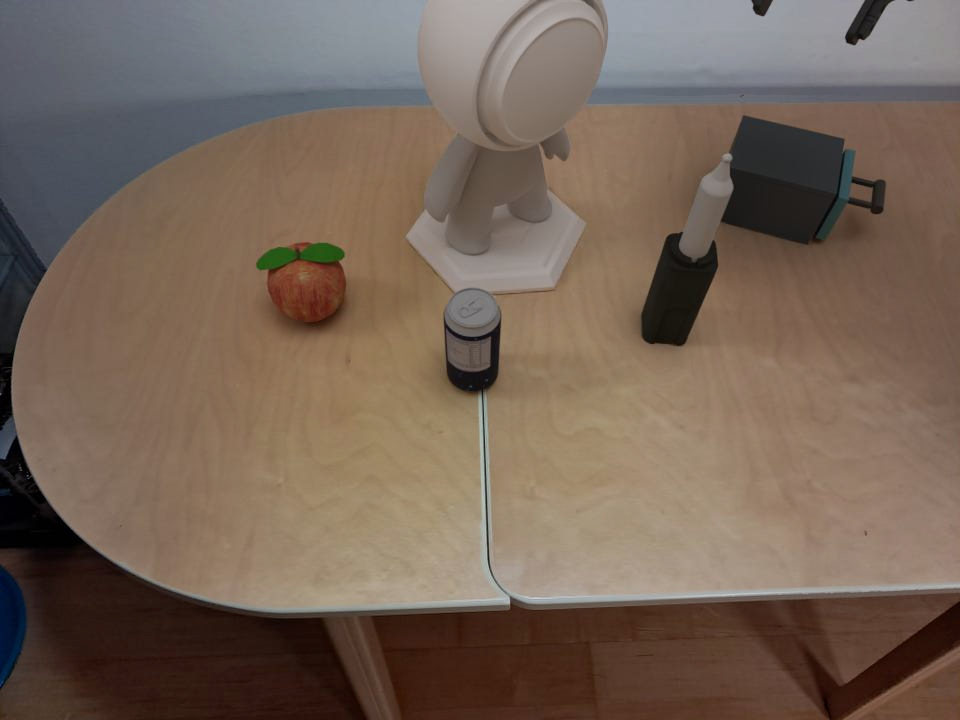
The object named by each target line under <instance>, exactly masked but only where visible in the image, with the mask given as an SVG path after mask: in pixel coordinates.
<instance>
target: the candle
mask: <svg viewBox="0 0 960 720" xmlns="http://www.w3.org/2000/svg"><path fill="white" fill-rule="evenodd" d="M731 161H732V155H731V154H729V152H727V153H724V154H723V155H722V158H721V161H720V162H719V164H718V165H717V166H716V167H715V168H714V169H713V171H711V172H709V173H708V174H706V175H704V176H703V177H702V179H701V180H700V183H699V185H698V188H697V191H696V193H695V197H694V200H693V203H692V205H691V208H690V211H689V214H688V217H687V220H686V223H685V225H684V228H683V231H680V232H673V233H670V234H668V235H667V236H666V237H665V240H664V243H663V246H662V249H661V252H660V256H659V258H658V262H657V265H656V268H655V271H654V274H653V277H652V279H651V282H650V286H649V289H648V293H647V295H646V299H645V302H644V304H643V307H642V311H641V314H640V320H641V321H640V322H641V336H642V337H641V338H642V339H643V340H644V342H646V343H648V344H652V345H654V344H666V345H675V346H677V347H680V346H683V345H685V344H686V343H687V340H688V339H689V336H690V334H691V331H692V329H693V327H694V324H695V322H696V320H697V317H698V315H699V313H700V310H701V308H702V306H703V303H704V301H705V299H706V296H707V294H708V292H709V290H710V287H711V285H712V283H713V280H714V278H715V275H716V273H717V271H718V269H719V257H718V248H717V244H716V241H715V240H714V239H715V236H716V234H717V231H718V228H719V226H720V223H721V222H720V221H721V218H722V216H723V213H724V211H725V209H726V206H727V204H728V201H729V199H730V196H731V194H732V191H733V183H732V180H731V178H730V162H731Z"/></svg>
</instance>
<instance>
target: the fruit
mask: <svg viewBox="0 0 960 720" xmlns="http://www.w3.org/2000/svg"><path fill="white" fill-rule="evenodd" d="M345 255H346V252H345V251H344V250H343V249H342V248H341V247H339V246H337V245H334V244H332V243H329V242H316V243H313V242H309V241H304V242H303V241H302V242H295V243H293V244H290V245H287V246H277V247H274V248H270V249H269V250H267V251H266V252H265V253H263V254H262V255H261V256H260V257H259V258H258V259H257V261H256V263H255V267H256V269H257V270H258V271H267V282H266V285H267V291H268V294H269V296H270V298H271V300H272V303H273V304H274V305H275V306H276V308H277V309H278V310H279V311H280V312H281V313H282V314H284V315H285V316H286V317H289V318H291V319H293V320H294V321H298V322H306V323H314V322H318V321H322V320H324V319H326V318H328V317H329V316H331V315H332V314H334V313H335V312H336V311H337V309H338V308H339V307H340V305H341V304H342V302H343V300H344V297H345V294H346V288H347V278H346V274H345V270H344V267H343V265H342V264H341V262H340V261H342V260H343V259H345Z"/></svg>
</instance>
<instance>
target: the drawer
mask: <svg viewBox="0 0 960 720" xmlns="http://www.w3.org/2000/svg"><path fill="white" fill-rule="evenodd" d="M855 157H856V150H854V149H849V148H845V149H844V150H843V155H842V162H841V168H840V175H839V182H838V189H837V194H836V196H835V198H834V199H833V201H832V203H831V205H830V207H829V208H828V210H827V212H826V214H825V215H824V217H823V219H822V221H821V222H820V224H819V226H818V228H817V229H816V231H815V239H818V240H822V241H826V240H827V238H828V236H829V234H830V233H831V231H832V230H833V227H835V224H836V222H837V221H838V219H839V218H840V216H841V214H842V212H843V210H844V209H845V208H846V205H851V206H855V207H860V208H862V209H863V208H864V209H867V210H870V213H871V214H872V215H881V214H882V213H883V212H884V210H885V199H886V188H887V182H886V181H885V180H884V179H880V178H879V179H876V180H869V179H865V178H861V177H857V176H854V175H853V173H854V165H855ZM852 184H854V185H858V186H863V187H866V188H870V189H871V190H872V192H871V199H870V201H867V200H864V199H859V198H855V197H852V196H850V195H851V186H852Z"/></svg>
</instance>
